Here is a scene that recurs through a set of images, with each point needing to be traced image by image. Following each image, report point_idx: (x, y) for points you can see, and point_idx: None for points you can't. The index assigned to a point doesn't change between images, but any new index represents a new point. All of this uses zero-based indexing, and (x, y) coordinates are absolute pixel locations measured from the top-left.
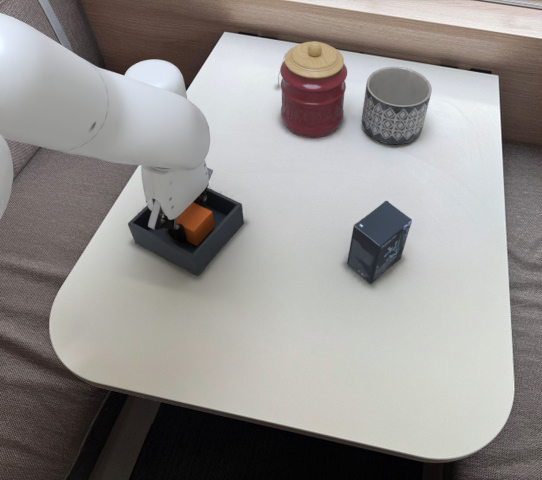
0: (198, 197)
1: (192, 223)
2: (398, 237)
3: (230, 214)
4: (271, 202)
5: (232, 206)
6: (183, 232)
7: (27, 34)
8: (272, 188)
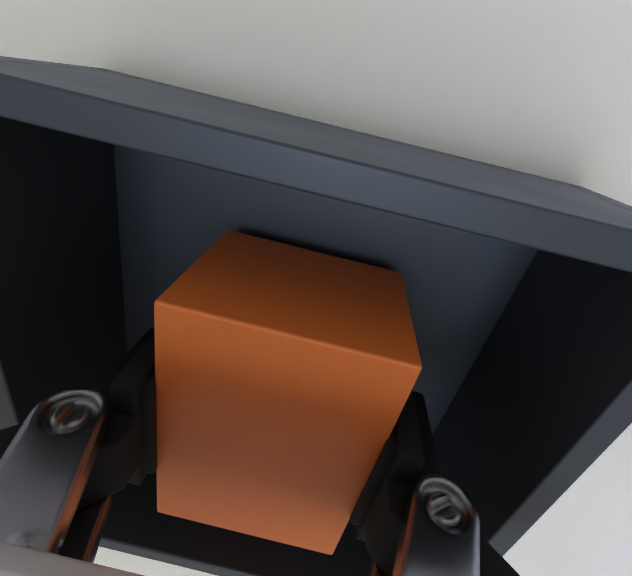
0: (384, 562)
1: (202, 500)
2: None
3: None
4: (539, 530)
5: None
6: None
7: None
8: (626, 526)
